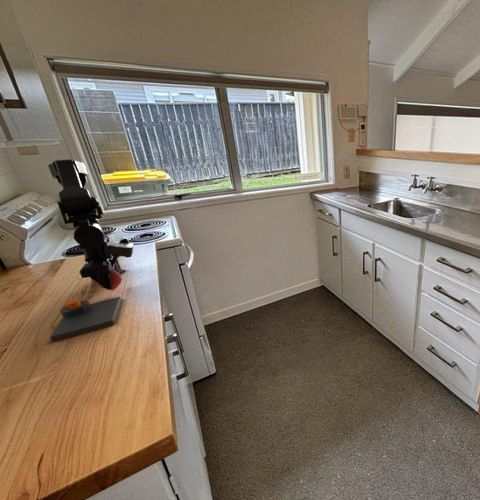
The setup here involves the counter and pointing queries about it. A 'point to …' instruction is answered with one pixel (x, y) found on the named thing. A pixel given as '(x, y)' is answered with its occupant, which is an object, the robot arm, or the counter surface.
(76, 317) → the scale
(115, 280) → the onion
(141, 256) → the counter surface
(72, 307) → the tare button
